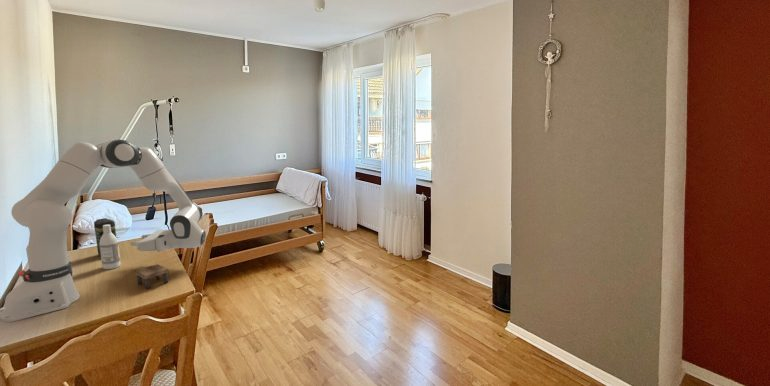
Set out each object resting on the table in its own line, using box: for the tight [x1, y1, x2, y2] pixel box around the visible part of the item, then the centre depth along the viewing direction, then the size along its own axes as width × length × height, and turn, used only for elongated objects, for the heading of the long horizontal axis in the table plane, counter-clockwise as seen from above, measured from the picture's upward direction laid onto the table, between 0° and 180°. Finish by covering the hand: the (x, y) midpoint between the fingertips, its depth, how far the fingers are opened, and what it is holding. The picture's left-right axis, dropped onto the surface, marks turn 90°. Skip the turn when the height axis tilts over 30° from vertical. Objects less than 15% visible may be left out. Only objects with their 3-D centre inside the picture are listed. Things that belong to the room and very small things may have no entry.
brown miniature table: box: [134, 264, 169, 290], centre depth 160 cm, size 9×9×6 cm
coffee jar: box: [93, 217, 118, 257], centre depth 192 cm, size 10×8×19 cm
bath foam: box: [99, 224, 122, 270], centre depth 176 cm, size 7×7×20 cm
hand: (136, 240), depth 177 cm, fingers open, 8 cm apart
